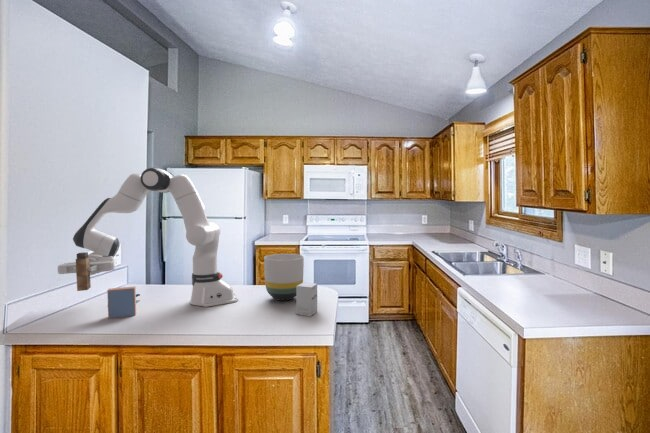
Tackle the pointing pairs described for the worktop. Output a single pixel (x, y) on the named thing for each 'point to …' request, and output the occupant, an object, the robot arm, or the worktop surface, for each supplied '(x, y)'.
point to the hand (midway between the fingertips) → (82, 270)
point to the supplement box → (306, 298)
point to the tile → (121, 302)
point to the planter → (283, 275)
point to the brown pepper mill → (83, 271)
